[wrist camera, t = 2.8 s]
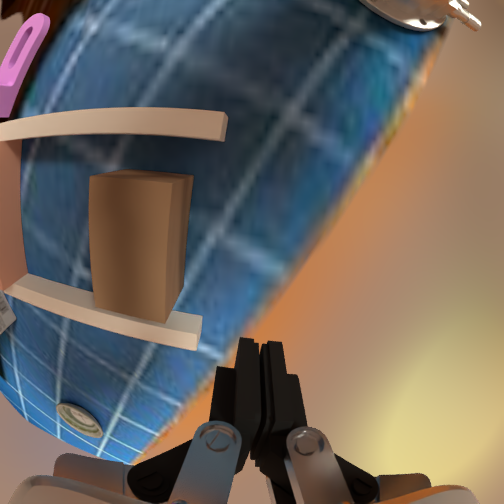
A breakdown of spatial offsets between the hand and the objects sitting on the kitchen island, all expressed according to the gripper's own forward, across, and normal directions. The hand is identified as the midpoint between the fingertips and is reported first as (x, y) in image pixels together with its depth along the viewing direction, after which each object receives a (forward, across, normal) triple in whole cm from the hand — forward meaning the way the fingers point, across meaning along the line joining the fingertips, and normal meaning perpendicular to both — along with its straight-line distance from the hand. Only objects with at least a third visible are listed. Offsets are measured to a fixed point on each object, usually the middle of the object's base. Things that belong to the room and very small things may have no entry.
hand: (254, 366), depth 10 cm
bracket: (+14, +31, -19) cm, 39 cm away
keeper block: (+14, +9, -1) cm, 16 cm away
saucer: (+15, +25, +35) cm, 45 cm away
